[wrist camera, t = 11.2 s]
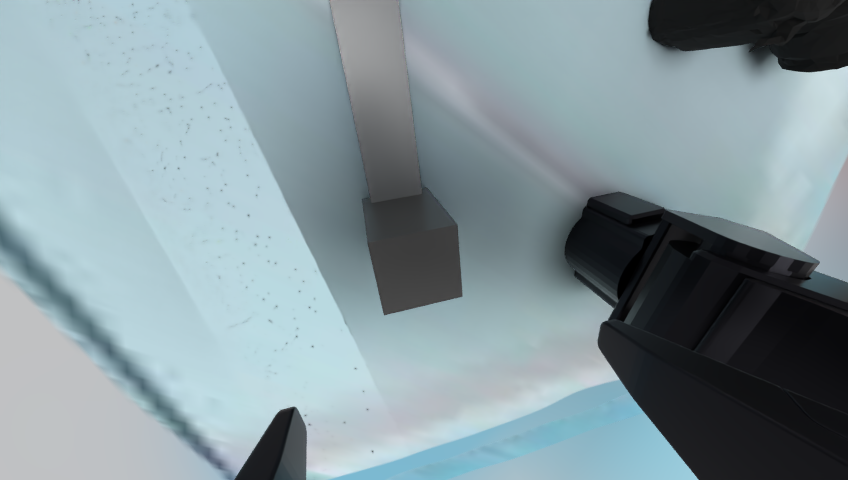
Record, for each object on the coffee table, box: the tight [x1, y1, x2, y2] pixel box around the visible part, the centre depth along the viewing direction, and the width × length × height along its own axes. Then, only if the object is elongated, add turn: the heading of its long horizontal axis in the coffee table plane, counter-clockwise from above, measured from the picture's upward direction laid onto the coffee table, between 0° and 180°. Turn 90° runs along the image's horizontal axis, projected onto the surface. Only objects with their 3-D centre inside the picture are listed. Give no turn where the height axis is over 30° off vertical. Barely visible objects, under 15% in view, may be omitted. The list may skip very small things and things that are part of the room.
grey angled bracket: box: [330, 0, 462, 315], centre depth 12 cm, size 23×4×6 cm, turn 7°
